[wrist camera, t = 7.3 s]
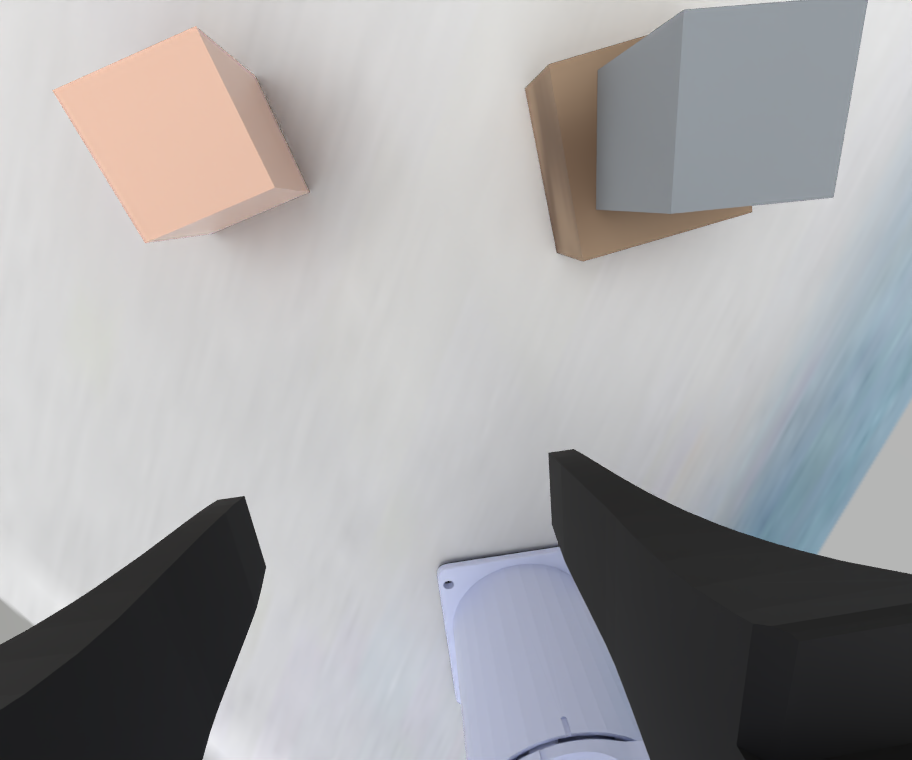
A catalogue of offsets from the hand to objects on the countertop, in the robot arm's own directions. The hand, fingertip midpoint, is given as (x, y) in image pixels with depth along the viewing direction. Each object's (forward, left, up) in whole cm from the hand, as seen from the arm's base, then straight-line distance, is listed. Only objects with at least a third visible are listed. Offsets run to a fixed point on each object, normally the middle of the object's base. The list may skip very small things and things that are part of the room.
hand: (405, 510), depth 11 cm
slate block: (+8, -9, -7) cm, 14 cm away
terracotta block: (+9, +5, -10) cm, 14 cm away
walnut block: (+8, -9, -10) cm, 16 cm away
